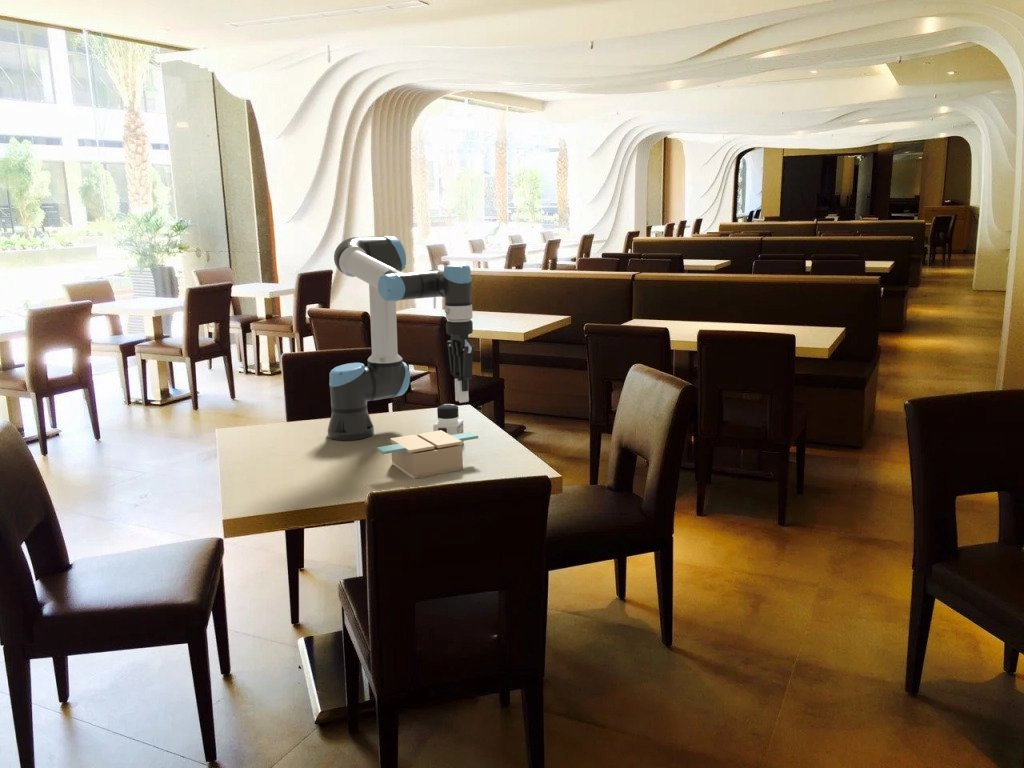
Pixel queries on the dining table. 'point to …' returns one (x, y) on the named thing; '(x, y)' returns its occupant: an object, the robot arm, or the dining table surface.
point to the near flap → (406, 445)
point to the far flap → (446, 438)
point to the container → (449, 420)
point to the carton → (429, 461)
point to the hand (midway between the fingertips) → (462, 400)
